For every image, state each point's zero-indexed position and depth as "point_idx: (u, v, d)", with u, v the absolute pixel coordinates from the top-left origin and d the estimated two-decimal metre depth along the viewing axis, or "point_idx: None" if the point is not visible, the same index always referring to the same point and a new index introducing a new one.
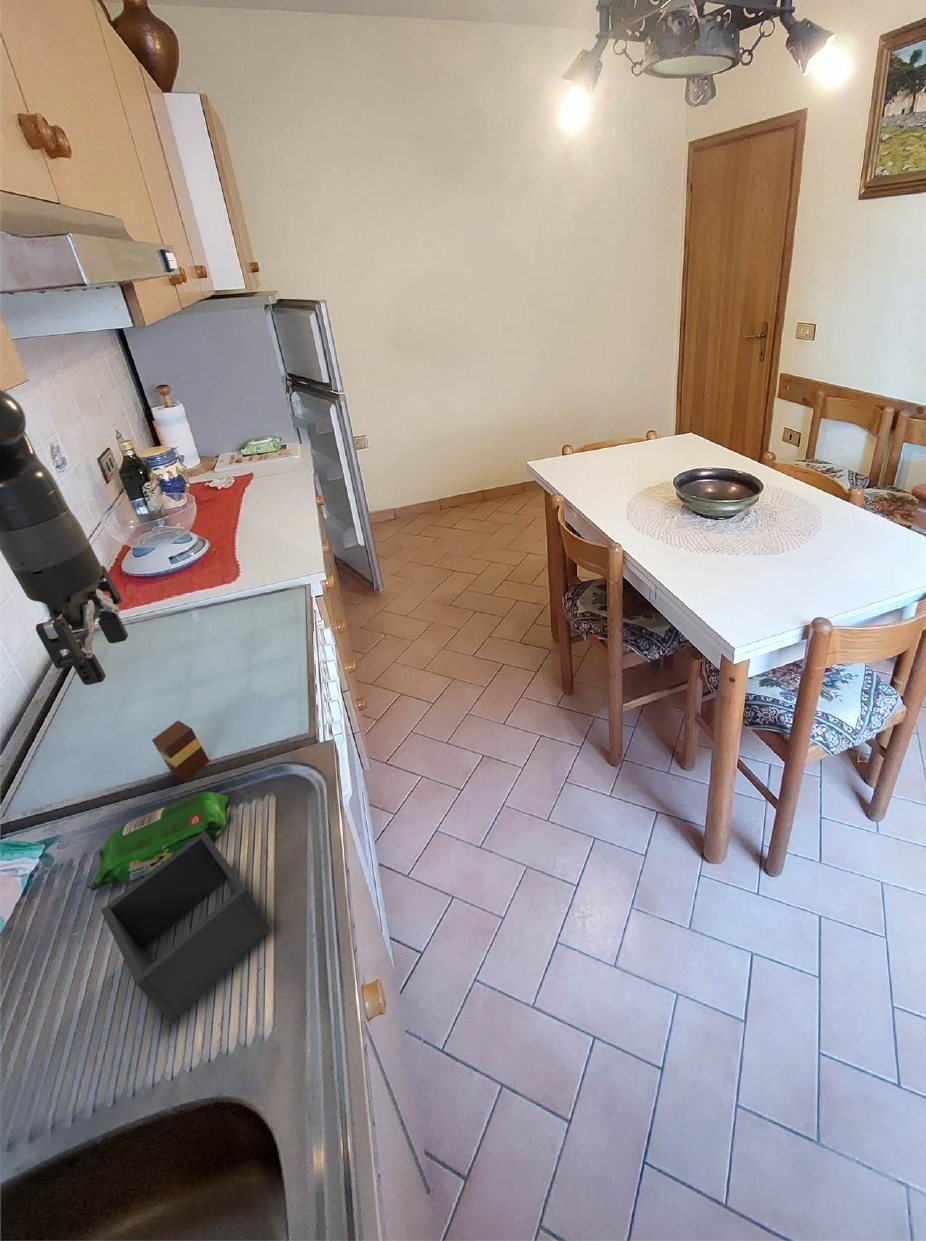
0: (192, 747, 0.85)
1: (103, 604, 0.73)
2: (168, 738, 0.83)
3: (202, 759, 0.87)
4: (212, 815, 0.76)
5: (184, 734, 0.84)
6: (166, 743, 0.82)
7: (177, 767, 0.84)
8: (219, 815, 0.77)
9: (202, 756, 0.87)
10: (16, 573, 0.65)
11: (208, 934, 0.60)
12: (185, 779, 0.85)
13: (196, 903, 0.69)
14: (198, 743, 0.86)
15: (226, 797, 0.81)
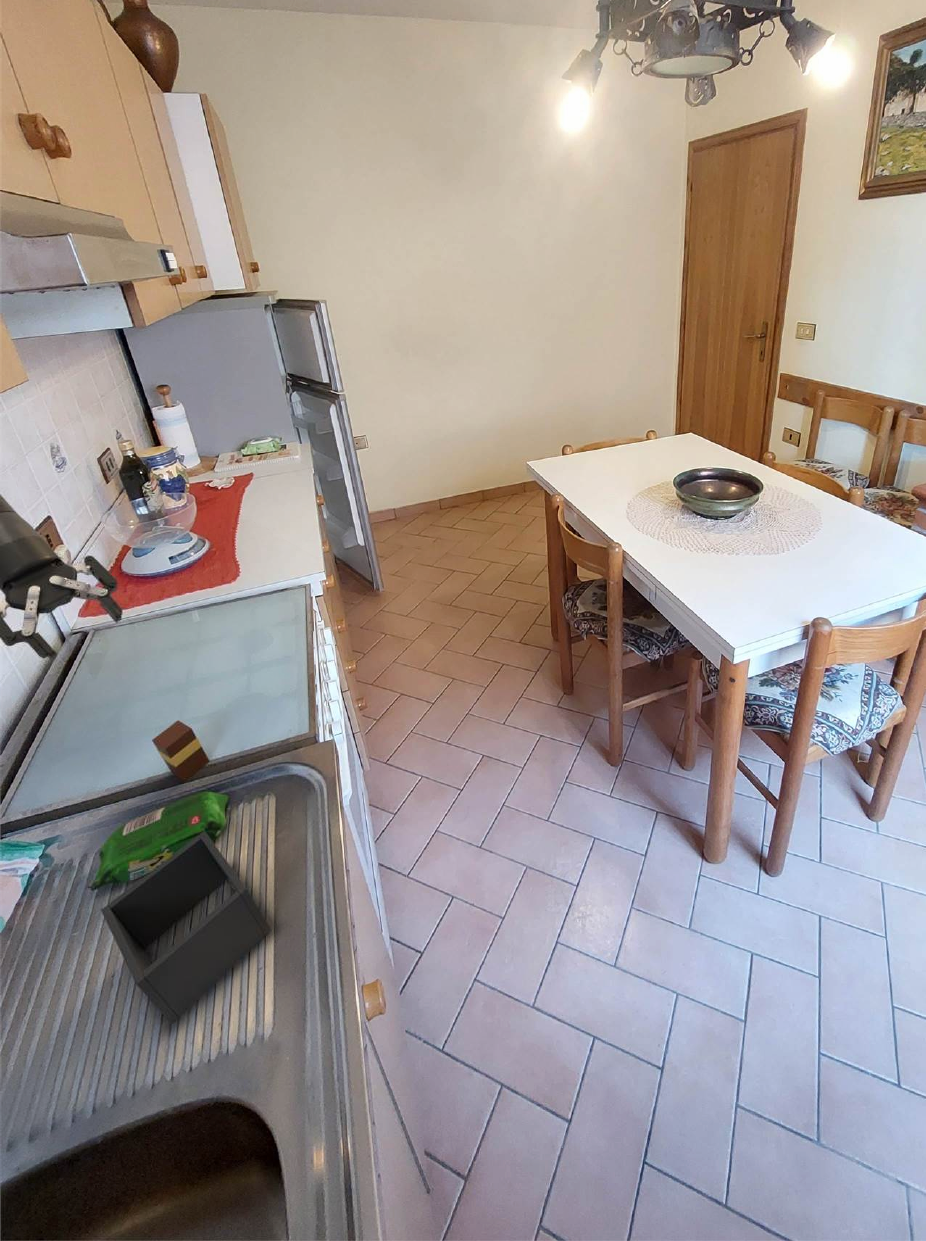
0: (192, 747, 0.85)
1: None
2: (168, 738, 0.83)
3: (202, 759, 0.87)
4: (212, 815, 0.76)
5: (184, 734, 0.84)
6: (166, 743, 0.82)
7: (177, 767, 0.84)
8: (219, 815, 0.77)
9: (202, 756, 0.87)
10: (36, 537, 0.82)
11: (208, 934, 0.60)
12: (185, 779, 0.85)
13: (196, 903, 0.69)
14: (198, 743, 0.86)
15: (226, 797, 0.81)
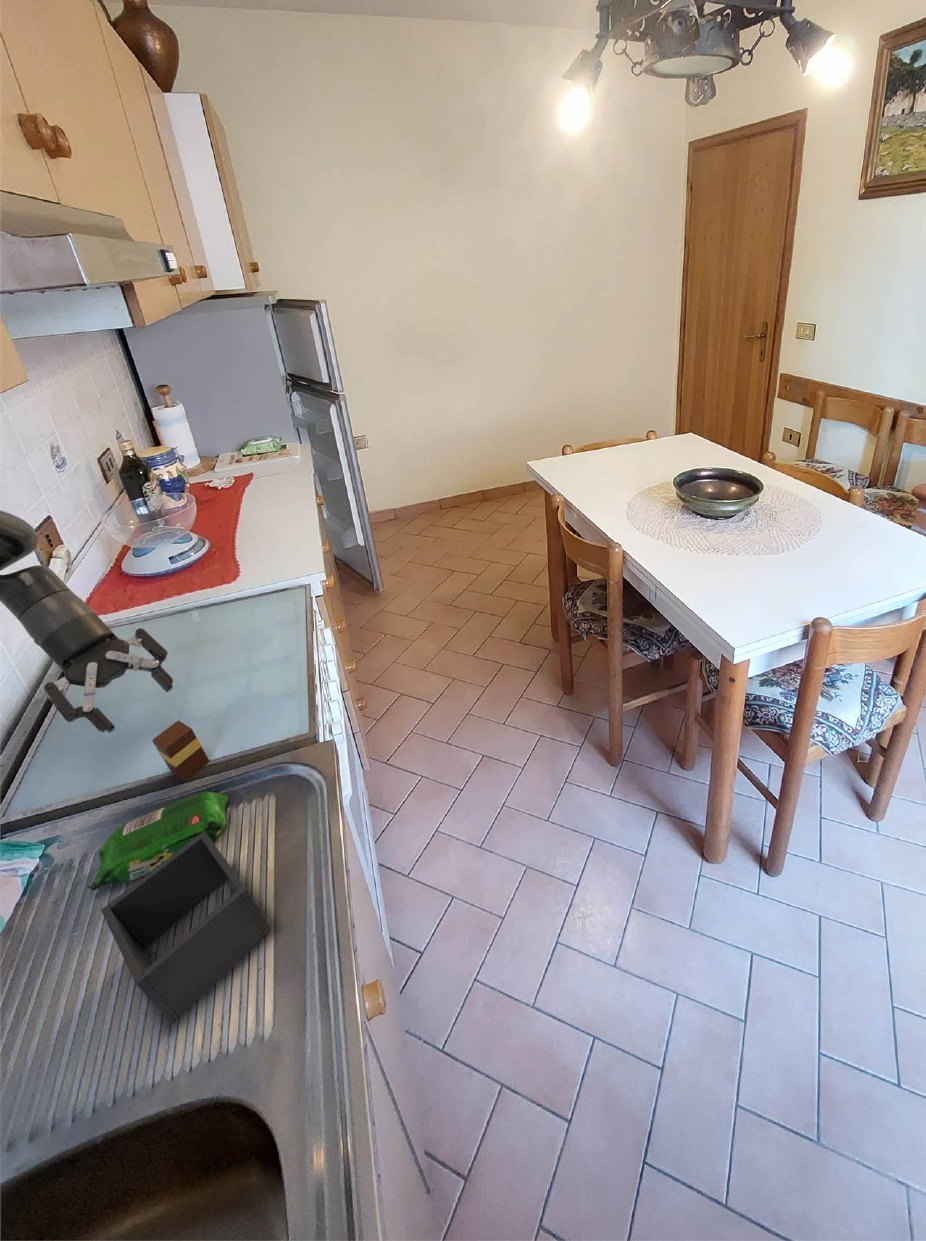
0: (192, 747, 0.85)
1: None
2: (168, 738, 0.83)
3: (202, 759, 0.87)
4: (212, 815, 0.76)
5: (184, 734, 0.84)
6: (166, 743, 0.82)
7: (177, 767, 0.84)
8: (219, 815, 0.77)
9: (202, 756, 0.87)
10: (91, 614, 0.86)
11: (208, 934, 0.60)
12: (185, 779, 0.85)
13: (196, 903, 0.69)
14: (198, 743, 0.86)
15: (226, 797, 0.81)
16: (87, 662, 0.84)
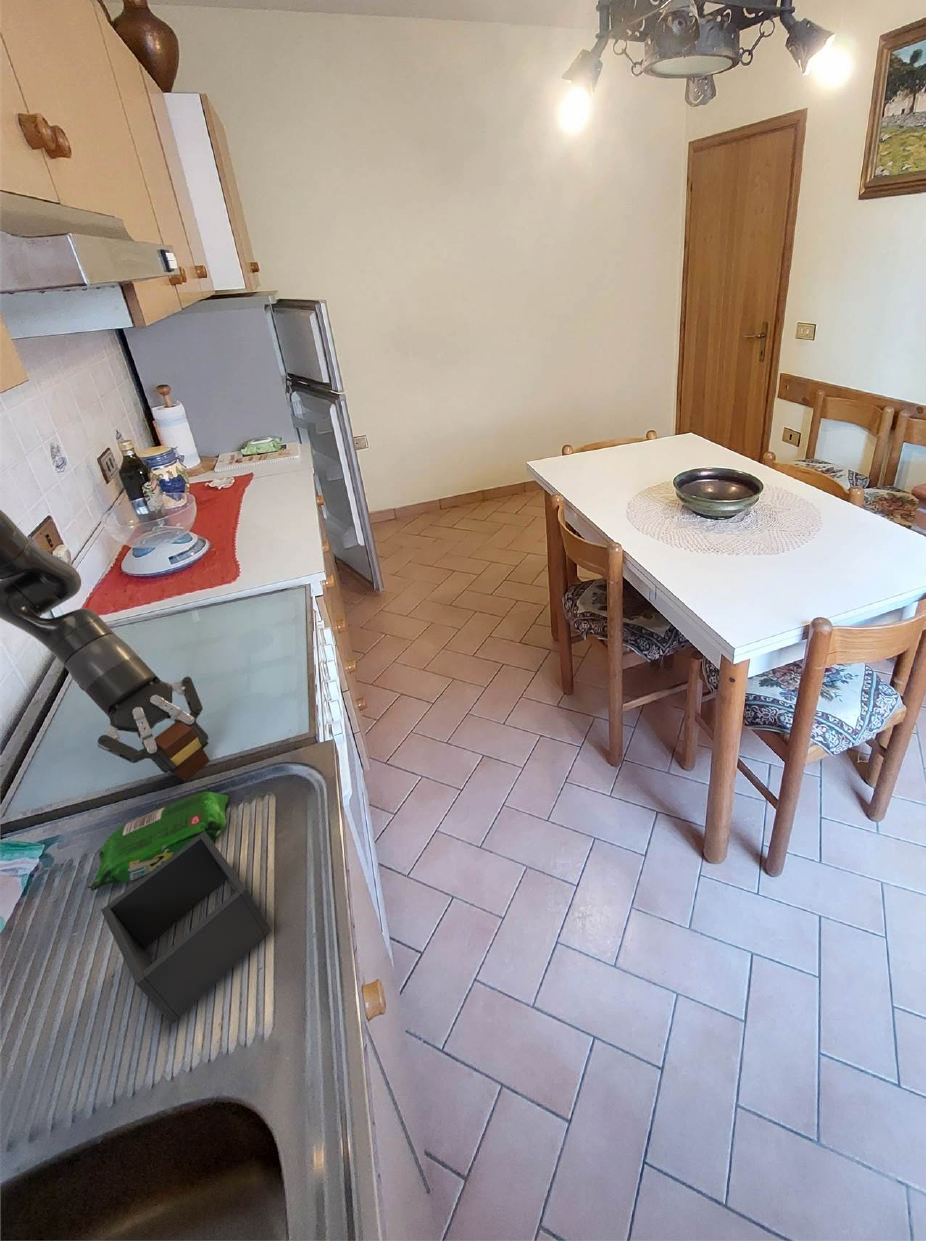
0: (192, 747, 0.85)
1: None
2: (168, 738, 0.83)
3: (202, 759, 0.87)
4: (212, 815, 0.76)
5: (184, 734, 0.84)
6: (166, 743, 0.82)
7: None
8: (219, 815, 0.77)
9: (202, 756, 0.87)
10: (135, 658, 0.85)
11: (208, 934, 0.60)
12: (185, 779, 0.85)
13: (196, 903, 0.69)
14: (198, 743, 0.86)
15: (226, 797, 0.81)
16: (132, 707, 0.83)
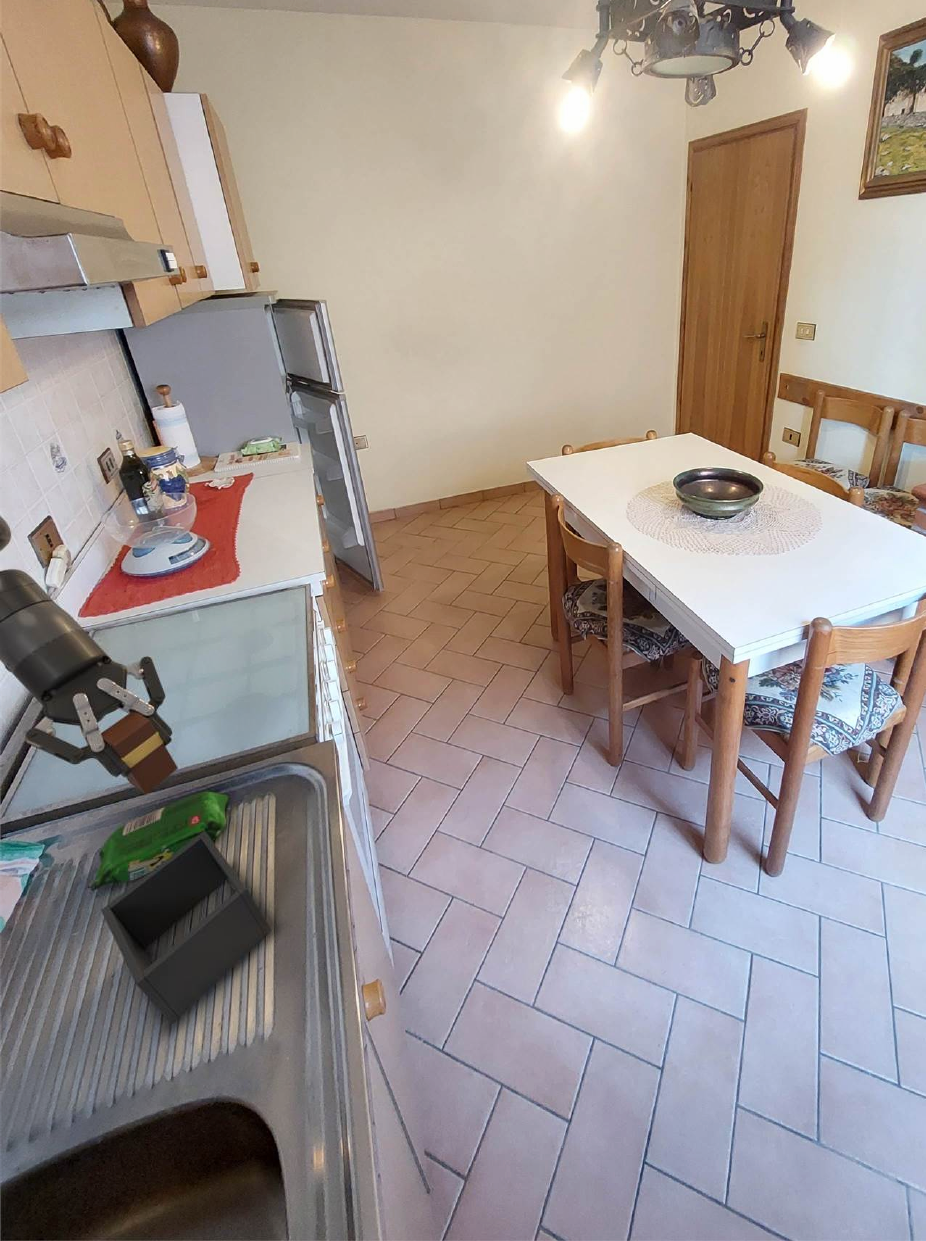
0: (151, 744, 0.68)
1: None
2: (120, 732, 0.66)
3: (164, 759, 0.69)
4: (212, 815, 0.76)
5: (140, 727, 0.66)
6: (116, 739, 0.65)
7: (131, 769, 0.66)
8: (219, 815, 0.77)
9: (164, 755, 0.69)
10: (79, 632, 0.68)
11: (208, 934, 0.60)
12: (142, 784, 0.68)
13: (196, 903, 0.69)
14: (159, 739, 0.68)
15: (226, 797, 0.81)
16: (73, 693, 0.66)
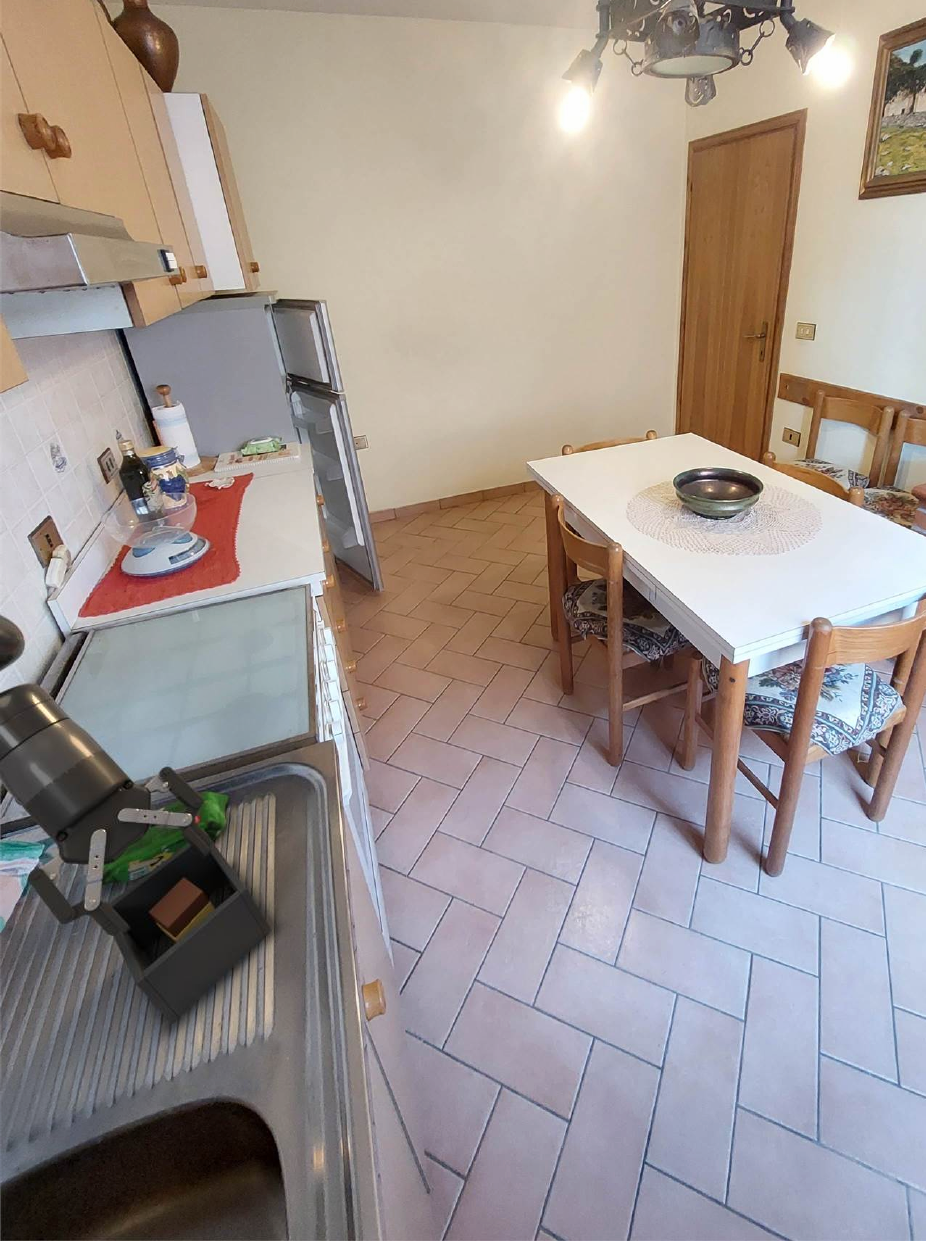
0: (204, 915, 0.63)
1: None
2: (171, 909, 0.61)
3: None
4: (212, 815, 0.76)
5: (193, 902, 0.62)
6: (168, 918, 0.61)
7: None
8: (219, 815, 0.77)
9: None
10: (98, 755, 0.60)
11: (208, 934, 0.60)
12: None
13: None
14: (211, 908, 0.64)
15: (226, 797, 0.81)
16: (92, 829, 0.58)
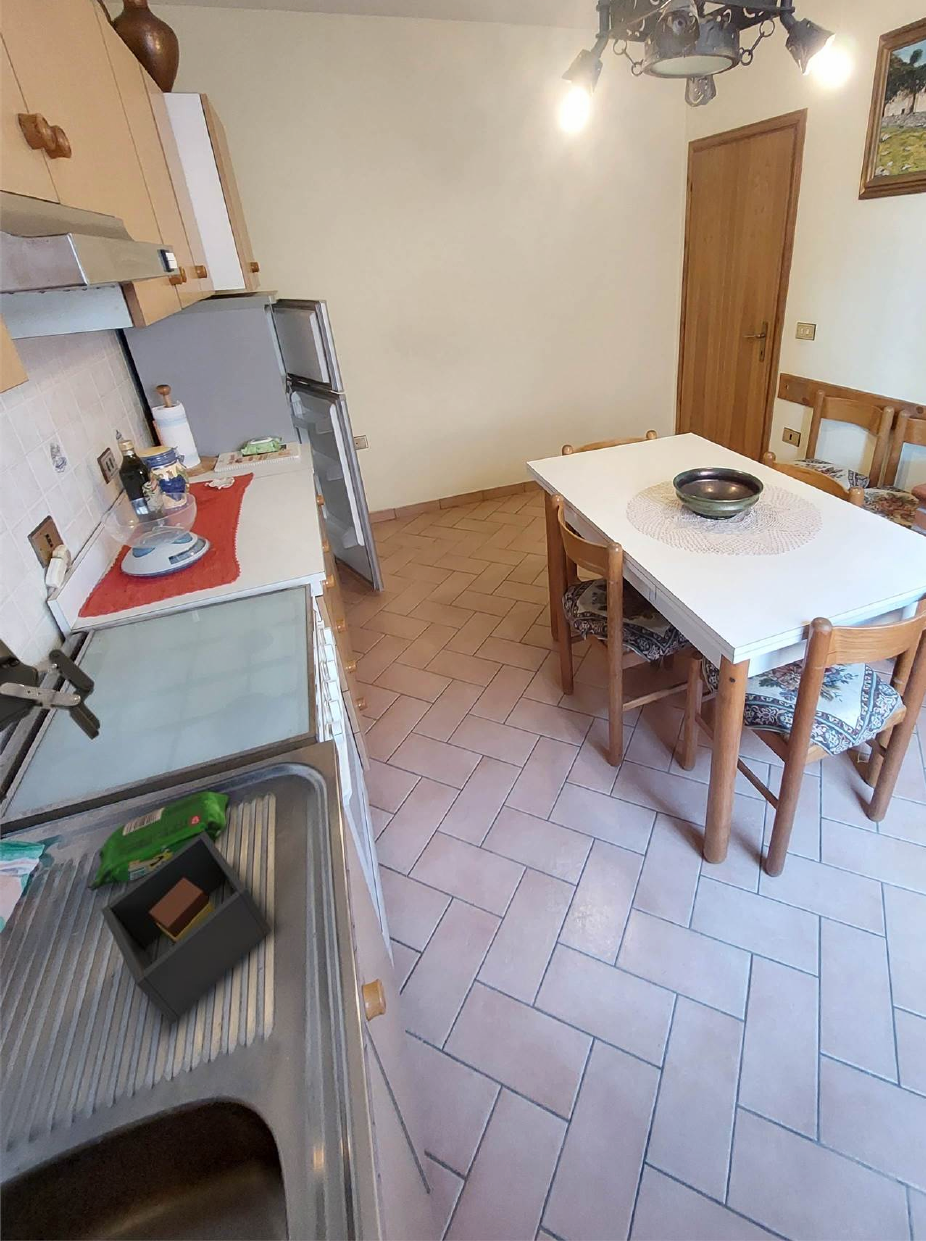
0: (204, 915, 0.63)
1: None
2: (171, 909, 0.61)
3: None
4: (212, 815, 0.76)
5: (193, 902, 0.62)
6: (168, 918, 0.61)
7: None
8: (219, 815, 0.77)
9: None
10: None
11: (208, 934, 0.60)
12: None
13: None
14: (211, 908, 0.64)
15: (226, 797, 0.81)
16: None
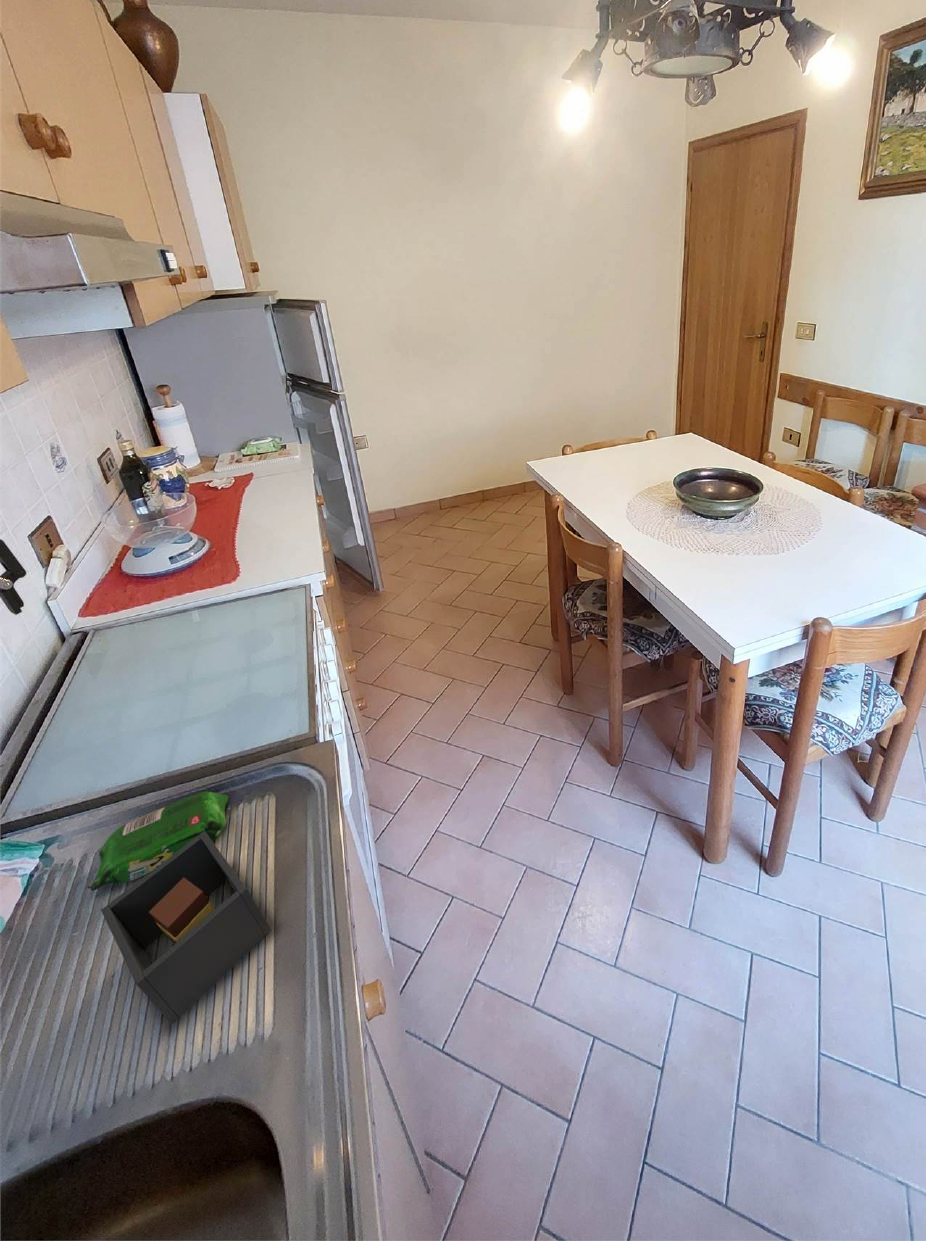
0: (204, 915, 0.63)
1: None
2: (171, 909, 0.61)
3: None
4: (212, 815, 0.76)
5: (193, 902, 0.62)
6: (168, 918, 0.61)
7: None
8: (219, 815, 0.77)
9: None
10: None
11: (208, 934, 0.60)
12: None
13: None
14: (211, 908, 0.64)
15: (226, 797, 0.81)
16: None
